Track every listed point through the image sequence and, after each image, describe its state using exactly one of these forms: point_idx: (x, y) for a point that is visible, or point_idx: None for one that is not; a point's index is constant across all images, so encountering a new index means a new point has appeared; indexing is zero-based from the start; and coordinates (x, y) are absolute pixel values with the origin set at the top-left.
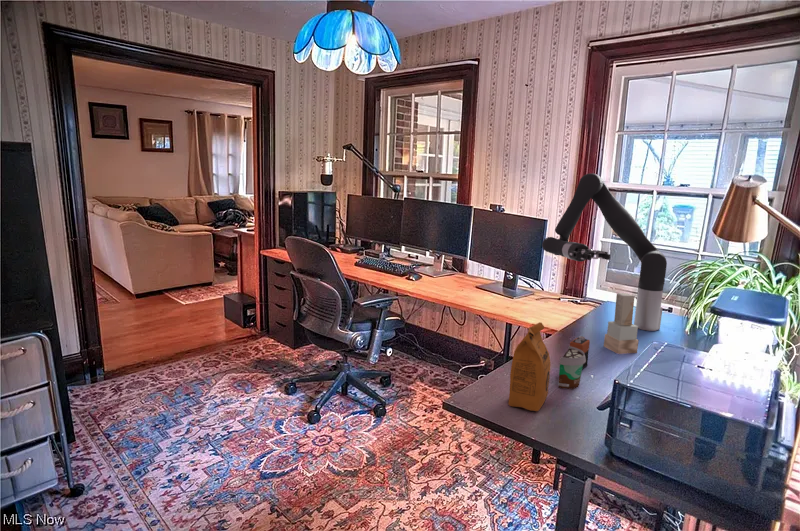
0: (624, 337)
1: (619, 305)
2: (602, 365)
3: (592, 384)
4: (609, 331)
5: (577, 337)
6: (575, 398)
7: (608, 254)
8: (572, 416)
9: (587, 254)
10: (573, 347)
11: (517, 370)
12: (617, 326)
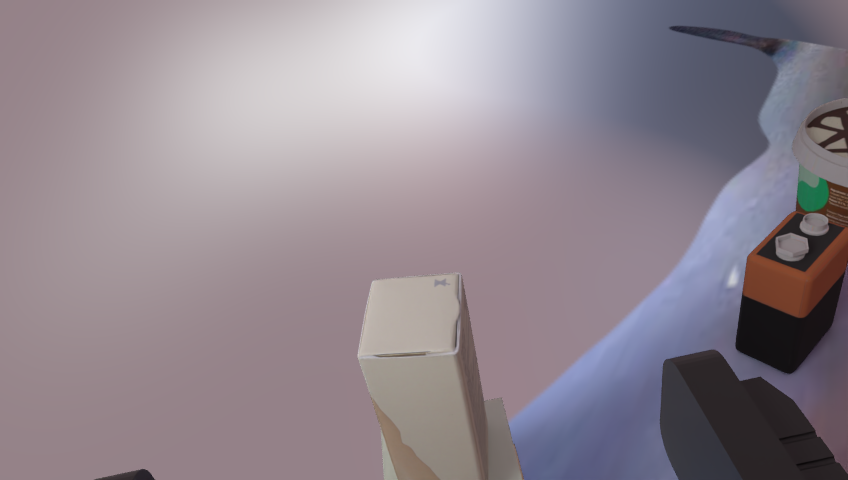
0: None
1: (473, 361)
2: (659, 360)
3: (745, 231)
4: None
5: (810, 274)
6: None
7: (131, 477)
8: None
9: (762, 421)
10: (844, 157)
11: None
12: (508, 425)
